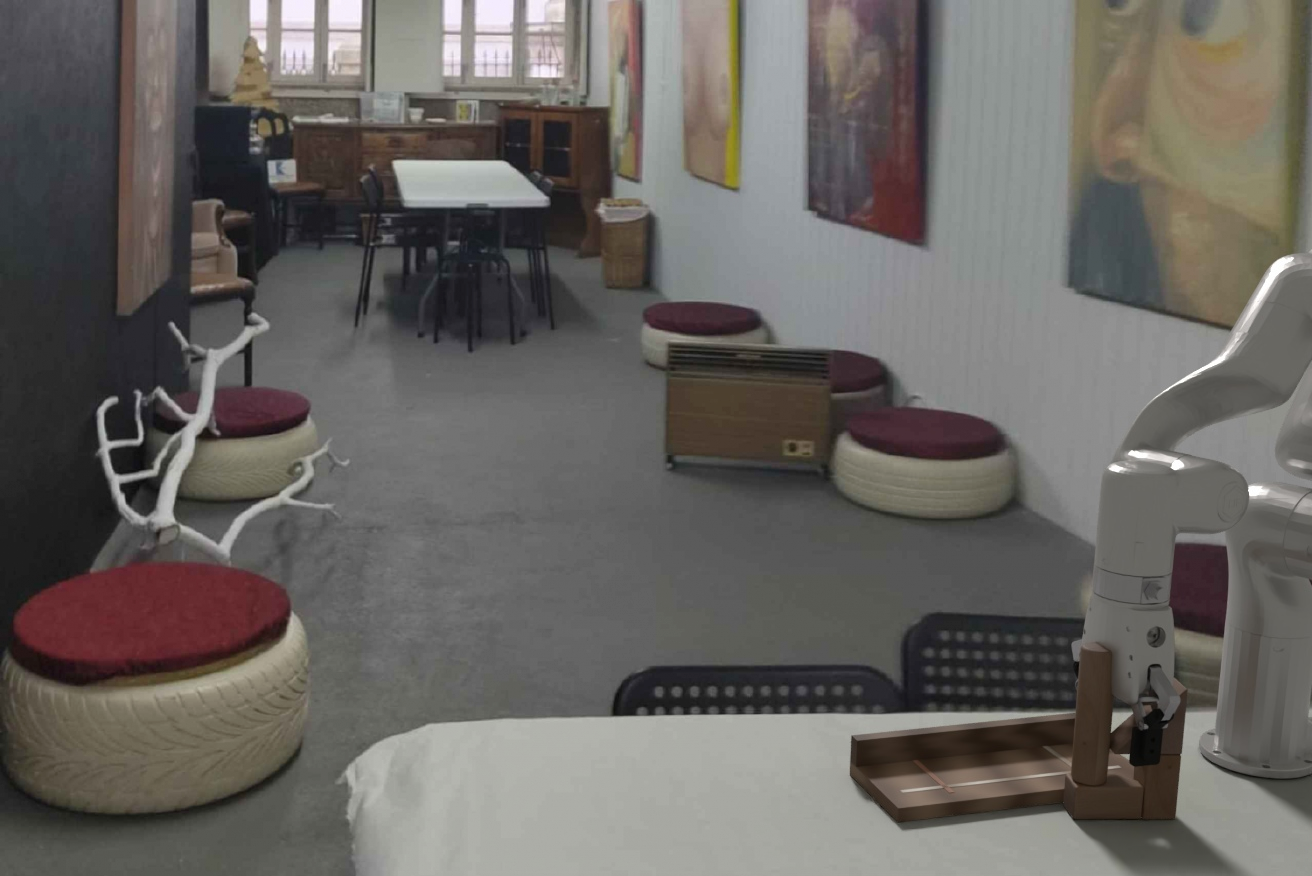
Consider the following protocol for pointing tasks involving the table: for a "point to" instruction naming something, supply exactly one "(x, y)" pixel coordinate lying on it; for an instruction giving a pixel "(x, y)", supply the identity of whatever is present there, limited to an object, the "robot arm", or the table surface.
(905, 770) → the marking board
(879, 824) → the table surface
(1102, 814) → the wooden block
